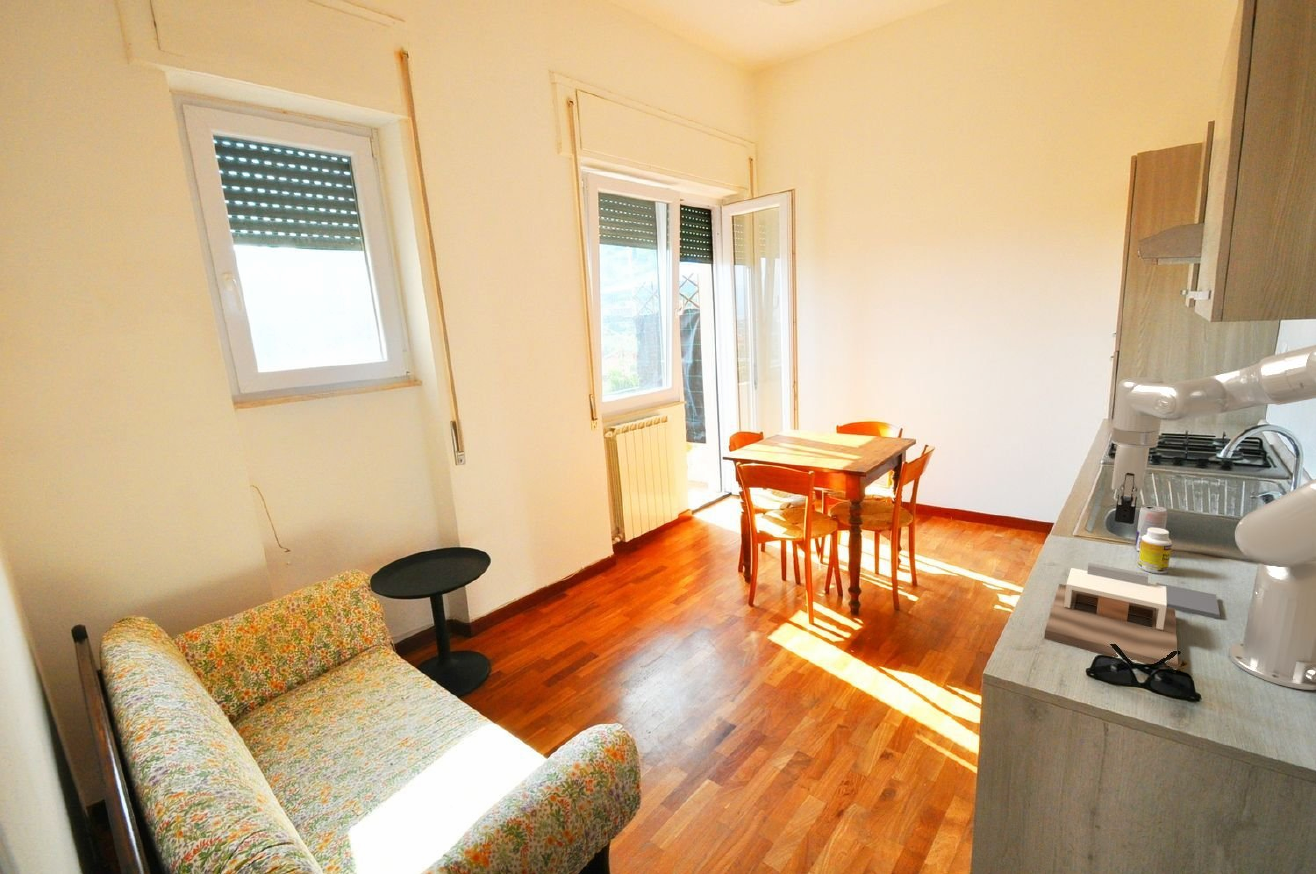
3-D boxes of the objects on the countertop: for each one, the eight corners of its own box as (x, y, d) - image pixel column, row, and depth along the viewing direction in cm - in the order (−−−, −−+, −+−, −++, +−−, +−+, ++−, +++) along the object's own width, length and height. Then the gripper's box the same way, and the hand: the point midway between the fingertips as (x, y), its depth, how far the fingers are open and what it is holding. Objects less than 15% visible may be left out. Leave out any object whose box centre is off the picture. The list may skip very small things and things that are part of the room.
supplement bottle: (1162, 576, 137) (1168, 536, 134) (1134, 568, 141) (1139, 530, 139) (1171, 569, 140) (1177, 530, 137) (1142, 562, 144) (1148, 524, 142)
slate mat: (1215, 598, 126) (1216, 594, 126) (1219, 619, 119) (1219, 614, 119) (1155, 586, 133) (1156, 582, 132) (1155, 605, 125) (1156, 601, 125)
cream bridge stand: (1068, 589, 130) (1072, 559, 128) (1162, 610, 119) (1167, 577, 118) (1064, 606, 123) (1067, 575, 121) (1162, 629, 113) (1168, 596, 111)
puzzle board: (1058, 591, 133) (1059, 583, 133) (1173, 617, 120) (1175, 608, 120) (1044, 638, 116) (1045, 629, 116) (1176, 674, 103) (1177, 664, 103)
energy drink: (1151, 547, 152) (1157, 504, 149) (1166, 556, 146) (1173, 511, 144) (1129, 547, 152) (1135, 505, 149) (1144, 556, 147) (1150, 512, 144)
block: (1097, 609, 125) (1100, 584, 124) (1126, 616, 122) (1130, 591, 121) (1095, 620, 121) (1098, 594, 120) (1125, 627, 118) (1129, 601, 117)
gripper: (1114, 427, 129) (1105, 503, 133) (1109, 444, 117) (1100, 527, 121) (1158, 430, 124) (1147, 508, 129) (1158, 448, 112) (1146, 534, 116)
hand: (1124, 516), depth 125 cm, fingers open, 5 cm apart
